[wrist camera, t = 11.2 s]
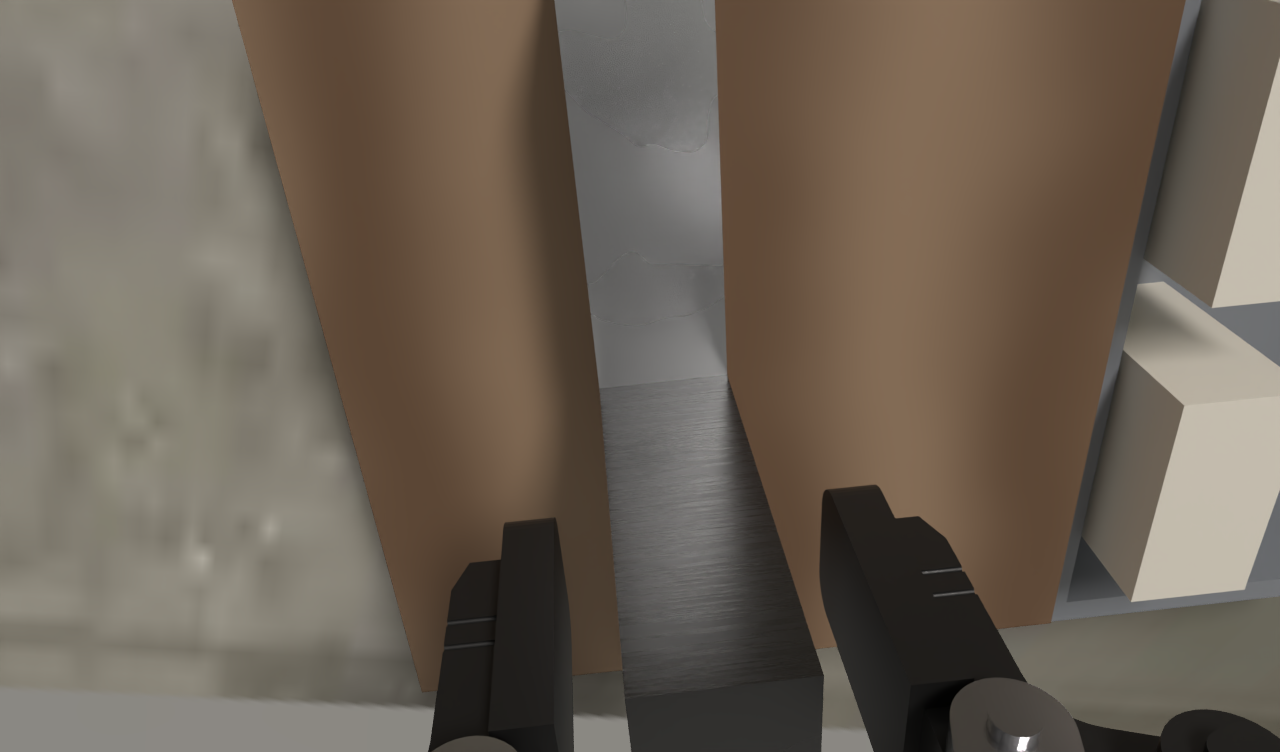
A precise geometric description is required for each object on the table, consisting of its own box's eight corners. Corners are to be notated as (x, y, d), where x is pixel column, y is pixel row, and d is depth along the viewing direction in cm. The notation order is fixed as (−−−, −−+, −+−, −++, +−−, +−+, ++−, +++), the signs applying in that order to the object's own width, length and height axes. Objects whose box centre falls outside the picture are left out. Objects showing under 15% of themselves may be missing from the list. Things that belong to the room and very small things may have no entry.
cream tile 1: (1211, 308, 16) (1350, 293, 16) (1294, 5, 14) (1456, -9, 14) (1074, 208, 21) (1184, 198, 21) (1117, -36, 18) (1242, -47, 18)
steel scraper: (632, 651, 22) (676, 1110, 14) (551, -55, 14) (548, 84, 6) (717, 641, 22) (809, 1093, 14) (683, -67, 14) (845, 56, 6)
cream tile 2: (1130, 602, 20) (1244, 589, 20) (1184, 405, 17) (1314, 391, 17) (1028, 465, 24) (1121, 455, 24) (1059, 291, 22) (1163, 281, 22)
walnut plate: (440, 574, 25) (421, 692, 22) (284, -80, 17) (216, -59, 14) (984, 516, 26) (1050, 623, 22) (1085, -146, 17) (1216, -141, 14)
